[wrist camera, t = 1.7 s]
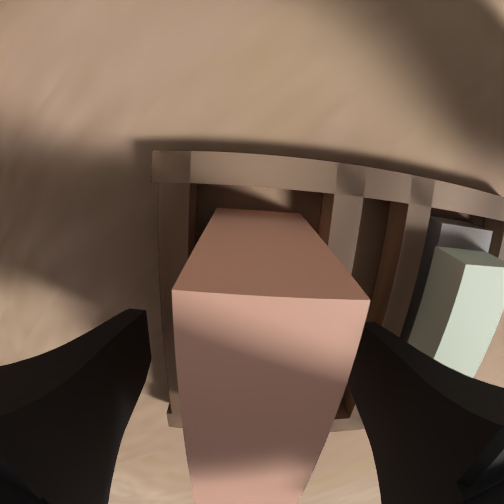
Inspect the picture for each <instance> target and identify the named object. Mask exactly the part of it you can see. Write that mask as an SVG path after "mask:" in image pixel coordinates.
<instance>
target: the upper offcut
mask: <svg viewBox="0 0 504 504" xmlns="http://www.w3.org/2000/svg"><path fill="white" fill-rule="evenodd" d="M503 309H504V261H502V260H500V259H499V258H497V257H495V256H493V255H491V254H489V253H488V252H483V251H475V250H466V249H458V248H449V247H440V246H435V250H434V254H433V259H432V263H431V267H430V271H429V275H428V278H427V282H426V286H425V289H424V293H423V296H422V300H421V303H420V306H419V310H418V313H417V316H416V319H415V322H414V325H413V328H412V331H411V334H410V337H409V340H408V343H409V344H410V345H412V346H413V347H415V348H416V349H418V350H420V351H421V352H423V353H424V354H426V355H428V356H429V357H431V358H433V359H435V360H436V361H438V362H440V363H442V364H443V365H445V366H447V367H449V368H451V369H454V370H456V371H458V372H460V373H462V374H464V375H467V376H469V377H472V378H474V376H475V374H476V372H477V370H478V368H479V366H480V364H481V362H482V359H483V357H484V355H485V353H486V351H487V349H488V346H489V344H490V342H491V340H492V337H493V335H494V332H495V330H496V327H497V325H498V322H499V320H500V317H501V315H502V312H503Z"/></svg>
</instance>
